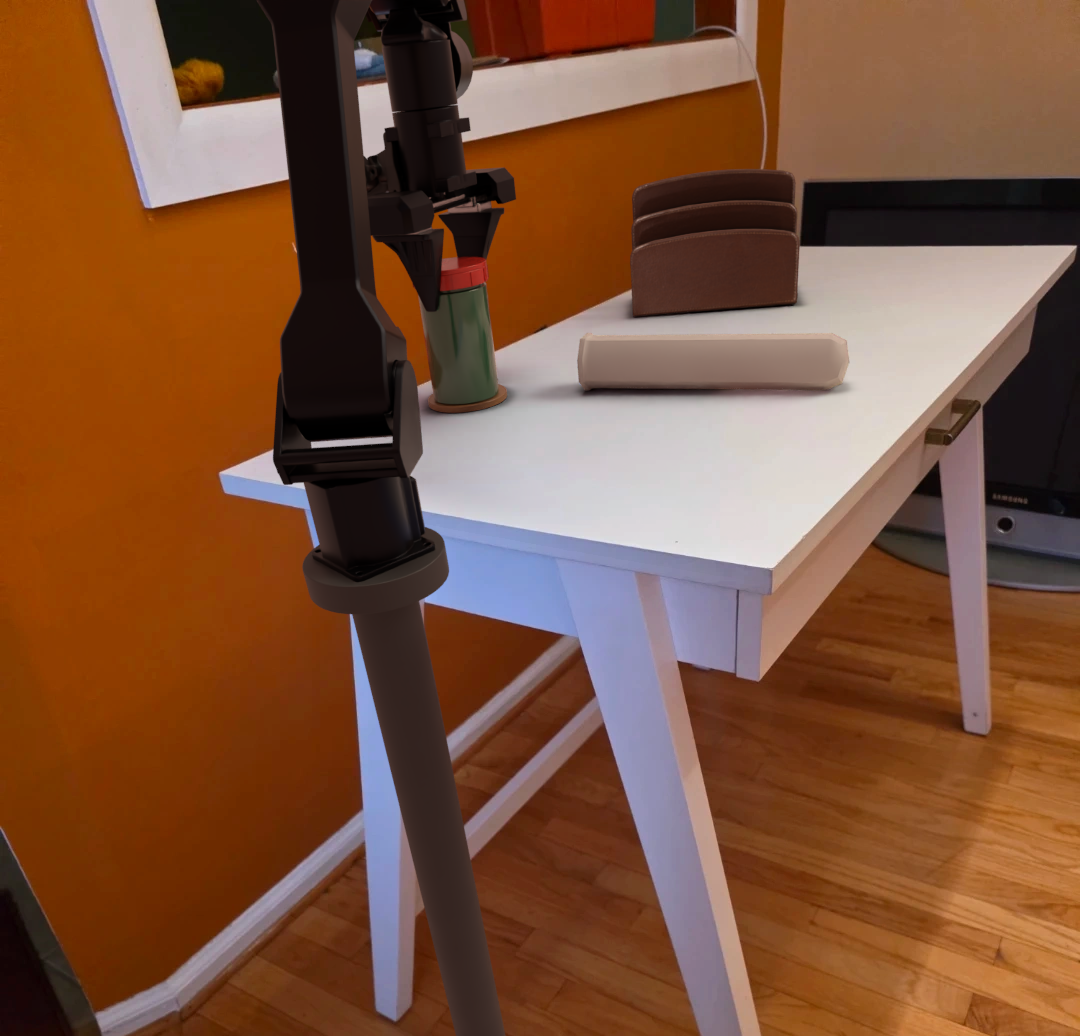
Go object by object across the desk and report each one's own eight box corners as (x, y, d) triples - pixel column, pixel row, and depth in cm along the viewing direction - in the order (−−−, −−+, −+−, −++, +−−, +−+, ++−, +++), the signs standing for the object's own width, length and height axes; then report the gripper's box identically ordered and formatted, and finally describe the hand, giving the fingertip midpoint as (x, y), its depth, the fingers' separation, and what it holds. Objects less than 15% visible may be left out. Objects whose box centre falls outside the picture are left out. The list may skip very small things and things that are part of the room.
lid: (473, 272, 93) (470, 253, 92) (499, 281, 88) (497, 261, 87) (404, 285, 91) (401, 265, 90) (427, 294, 86) (424, 274, 85)
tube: (854, 332, 87) (594, 335, 95) (851, 327, 82) (577, 330, 90) (847, 394, 89) (592, 391, 97) (844, 392, 84) (576, 389, 92)
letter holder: (636, 300, 125) (631, 178, 117) (790, 287, 122) (796, 161, 114) (632, 318, 117) (626, 189, 109) (797, 305, 114) (804, 171, 106)
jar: (500, 400, 92) (485, 273, 86) (432, 407, 92) (413, 281, 86) (498, 382, 98) (483, 261, 91) (434, 389, 98) (416, 269, 91)
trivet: (459, 418, 91) (458, 411, 91) (413, 404, 96) (412, 398, 96) (523, 395, 95) (522, 389, 95) (475, 383, 100) (474, 378, 100)
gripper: (409, 107, 92) (435, 281, 100) (282, 127, 79) (325, 326, 87) (508, 96, 87) (527, 280, 96) (391, 116, 74) (425, 327, 83)
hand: (452, 302), depth 90 cm, fingers closed on lid, 7 cm apart
